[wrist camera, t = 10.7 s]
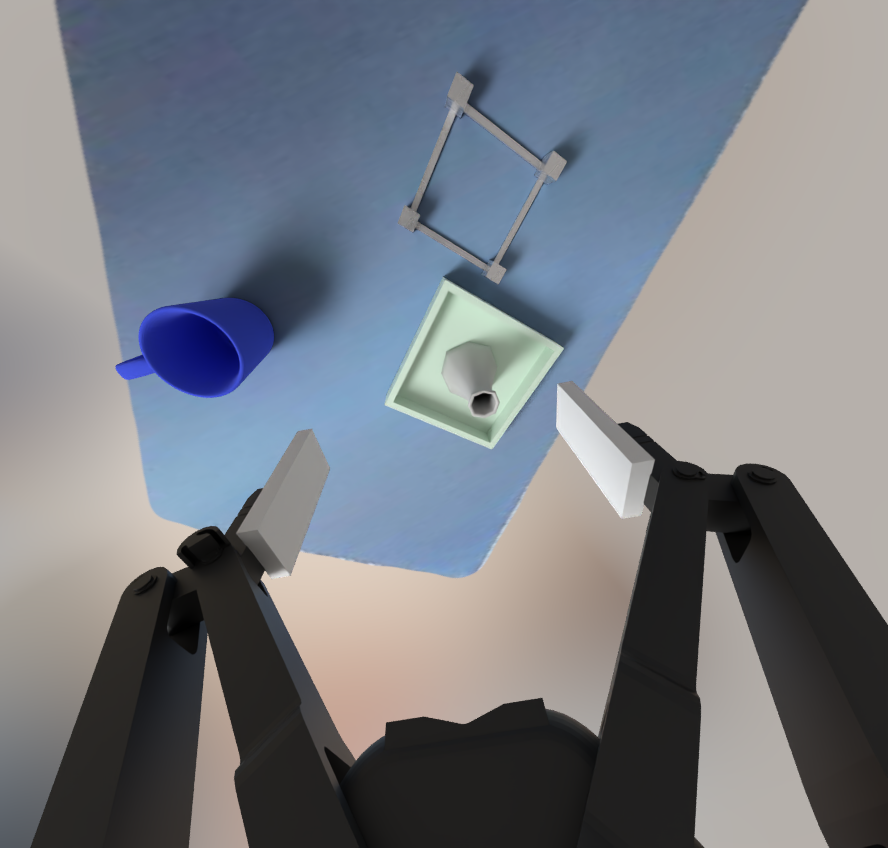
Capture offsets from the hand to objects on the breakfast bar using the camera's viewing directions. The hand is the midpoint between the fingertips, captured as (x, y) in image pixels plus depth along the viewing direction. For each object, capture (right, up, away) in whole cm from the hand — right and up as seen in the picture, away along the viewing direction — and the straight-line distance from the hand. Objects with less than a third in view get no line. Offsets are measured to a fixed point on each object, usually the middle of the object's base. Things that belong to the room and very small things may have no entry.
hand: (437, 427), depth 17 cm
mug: (-24, +11, +19) cm, 33 cm away
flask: (+4, +7, +23) cm, 25 cm away
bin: (+4, +7, +24) cm, 25 cm away
